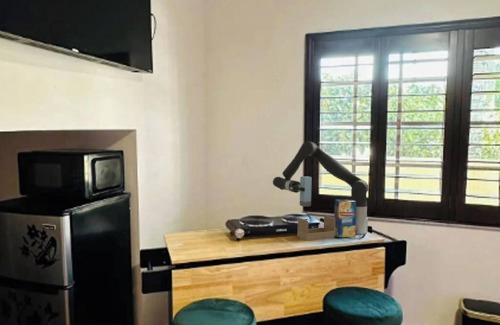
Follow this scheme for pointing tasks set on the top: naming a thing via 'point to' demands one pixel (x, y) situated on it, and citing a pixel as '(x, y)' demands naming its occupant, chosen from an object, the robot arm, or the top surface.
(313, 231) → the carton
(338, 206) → the blue food box
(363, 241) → the top surface
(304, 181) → the slate box
